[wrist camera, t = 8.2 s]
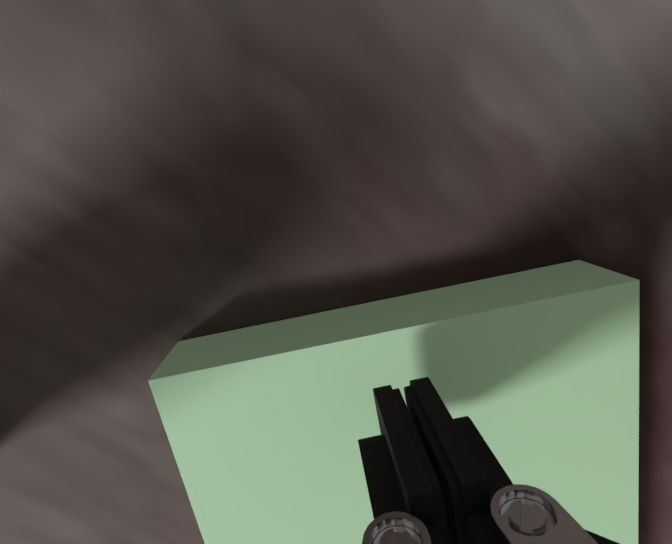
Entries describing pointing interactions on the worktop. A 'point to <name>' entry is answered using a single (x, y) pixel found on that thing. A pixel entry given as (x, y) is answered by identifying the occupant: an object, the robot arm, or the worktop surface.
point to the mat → (397, 370)
